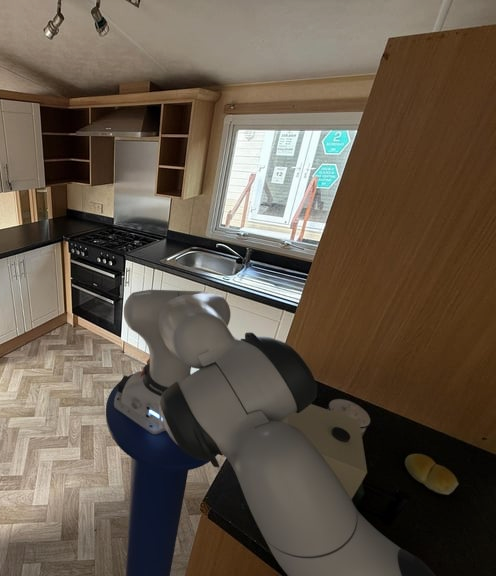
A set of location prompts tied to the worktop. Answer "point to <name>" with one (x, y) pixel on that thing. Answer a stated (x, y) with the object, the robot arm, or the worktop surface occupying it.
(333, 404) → the enamel mug with lid
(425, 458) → the bread roll
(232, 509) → the worktop surface
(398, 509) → the door with handle
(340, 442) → the cube with dark spot
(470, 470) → the worktop surface
